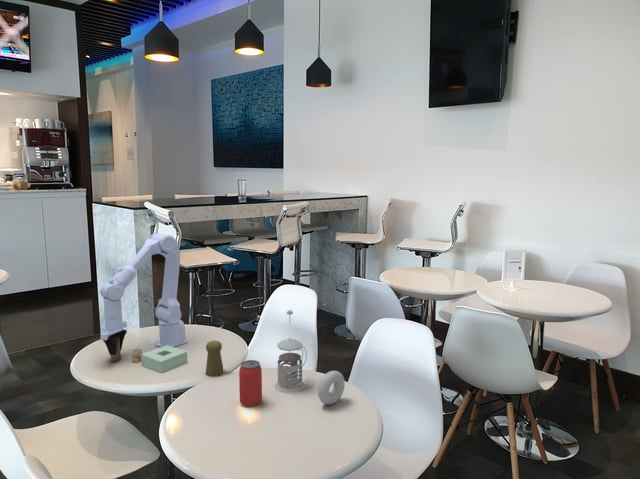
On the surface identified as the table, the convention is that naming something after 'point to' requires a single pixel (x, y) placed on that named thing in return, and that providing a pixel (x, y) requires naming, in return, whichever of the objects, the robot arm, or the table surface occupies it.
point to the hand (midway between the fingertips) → (115, 352)
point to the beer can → (250, 383)
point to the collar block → (164, 358)
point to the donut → (326, 384)
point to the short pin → (136, 355)
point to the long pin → (118, 356)
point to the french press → (285, 380)
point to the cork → (214, 359)
